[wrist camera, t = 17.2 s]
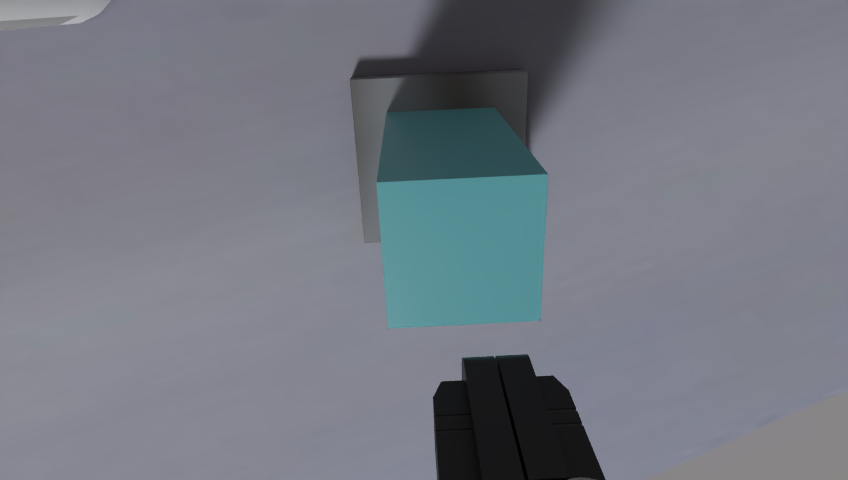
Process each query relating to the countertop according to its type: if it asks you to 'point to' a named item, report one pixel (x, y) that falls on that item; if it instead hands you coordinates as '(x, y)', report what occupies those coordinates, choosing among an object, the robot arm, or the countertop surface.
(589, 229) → the countertop surface
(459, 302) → the teal pillar
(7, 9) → the spray bottle
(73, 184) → the countertop surface
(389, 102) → the post
